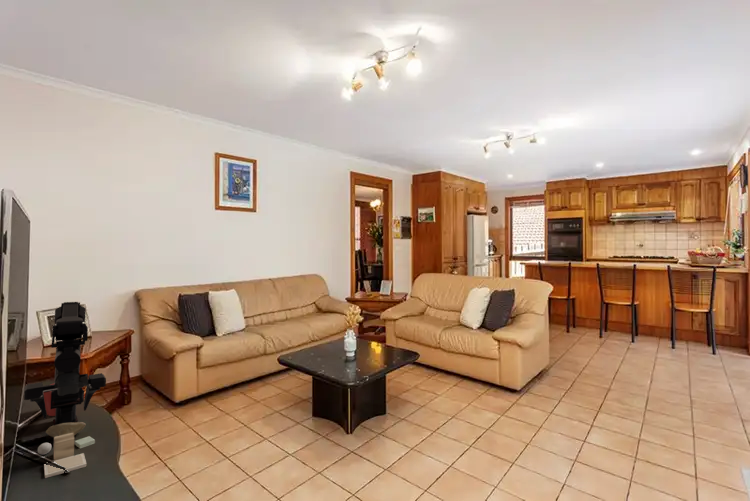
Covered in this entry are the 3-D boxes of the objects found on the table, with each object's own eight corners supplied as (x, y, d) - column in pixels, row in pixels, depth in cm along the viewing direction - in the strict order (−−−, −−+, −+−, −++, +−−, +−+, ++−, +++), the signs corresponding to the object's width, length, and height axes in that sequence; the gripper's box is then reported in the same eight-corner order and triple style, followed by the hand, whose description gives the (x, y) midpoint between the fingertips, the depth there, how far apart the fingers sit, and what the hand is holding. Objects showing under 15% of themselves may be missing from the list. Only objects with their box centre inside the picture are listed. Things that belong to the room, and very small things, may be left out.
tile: (74, 445, 120) (74, 441, 120) (89, 440, 123) (89, 436, 123) (79, 449, 118) (80, 445, 118) (94, 444, 121) (95, 439, 121)
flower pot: (39, 410, 141) (40, 384, 141) (76, 403, 149) (77, 378, 149) (42, 421, 134) (43, 393, 133) (81, 412, 141) (82, 386, 141)
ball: (37, 453, 114) (37, 442, 114) (51, 449, 116) (51, 439, 116) (37, 457, 112) (37, 447, 112) (51, 454, 114) (52, 443, 114)
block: (53, 455, 114) (54, 437, 114) (72, 450, 117) (73, 432, 117) (54, 461, 110) (54, 443, 110) (73, 456, 113) (74, 438, 113)
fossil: (90, 419, 125) (51, 422, 118) (89, 432, 123) (50, 436, 115) (79, 430, 128) (41, 434, 121) (78, 444, 126) (40, 448, 119)
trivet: (43, 466, 108) (44, 463, 108) (83, 455, 114) (83, 452, 114) (44, 478, 103) (45, 474, 103) (86, 466, 109) (86, 463, 109)
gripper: (25, 376, 101) (22, 434, 101) (109, 364, 114) (107, 415, 114) (25, 364, 109) (23, 418, 109) (104, 355, 122) (102, 403, 122)
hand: (65, 414), depth 114 cm, fingers open, 9 cm apart
